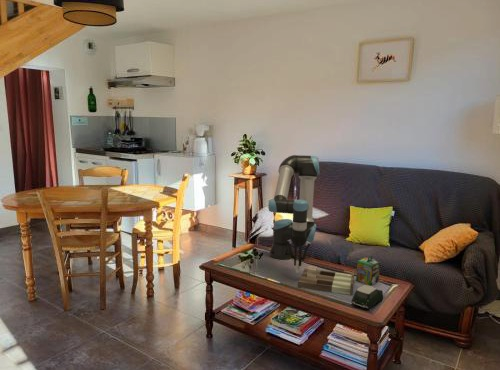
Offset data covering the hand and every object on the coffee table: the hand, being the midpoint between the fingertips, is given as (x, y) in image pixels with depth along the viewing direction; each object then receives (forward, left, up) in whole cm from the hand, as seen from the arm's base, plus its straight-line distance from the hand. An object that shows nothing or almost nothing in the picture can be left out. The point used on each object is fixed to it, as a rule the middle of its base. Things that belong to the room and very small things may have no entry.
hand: (297, 271), depth 207 cm
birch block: (0, +8, -1) cm, 8 cm away
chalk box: (-12, +36, -5) cm, 38 cm away
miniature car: (+15, +37, -5) cm, 40 cm away
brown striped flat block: (0, +16, -4) cm, 16 cm away
